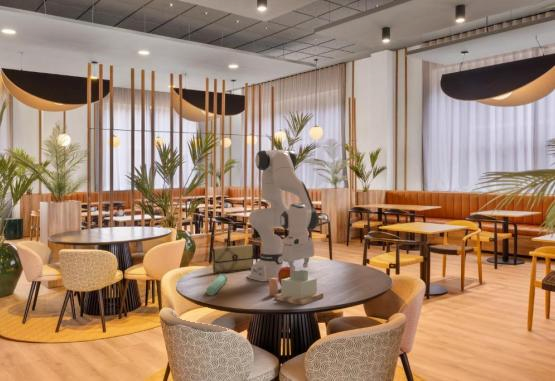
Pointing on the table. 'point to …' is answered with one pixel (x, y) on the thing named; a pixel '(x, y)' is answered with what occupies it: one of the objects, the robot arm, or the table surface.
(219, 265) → the clutch purse
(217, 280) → the pale green rod
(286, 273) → the apple
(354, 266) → the table surface
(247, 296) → the table surface
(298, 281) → the housing
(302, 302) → the socket plate
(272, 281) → the pin
